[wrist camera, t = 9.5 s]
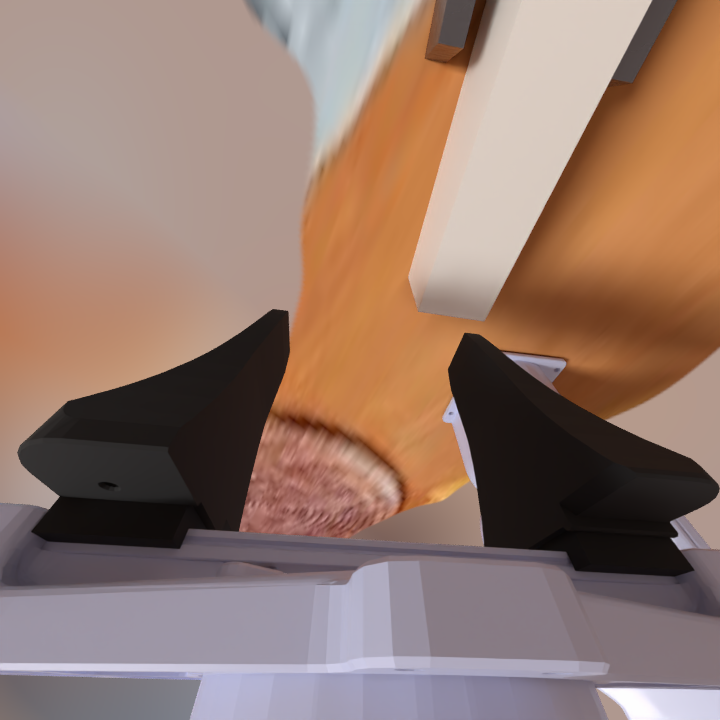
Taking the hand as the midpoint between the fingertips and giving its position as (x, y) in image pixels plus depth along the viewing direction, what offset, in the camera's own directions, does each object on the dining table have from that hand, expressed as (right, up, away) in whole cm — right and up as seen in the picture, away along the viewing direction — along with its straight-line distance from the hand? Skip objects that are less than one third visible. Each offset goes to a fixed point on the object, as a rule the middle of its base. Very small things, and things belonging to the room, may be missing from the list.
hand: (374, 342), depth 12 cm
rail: (+6, +11, +3) cm, 13 cm away
